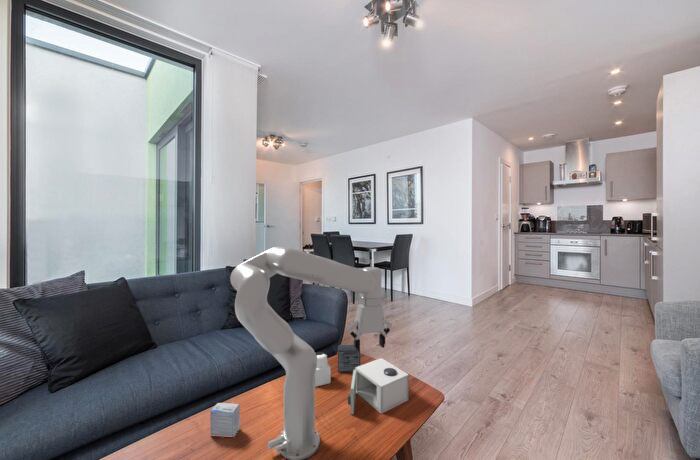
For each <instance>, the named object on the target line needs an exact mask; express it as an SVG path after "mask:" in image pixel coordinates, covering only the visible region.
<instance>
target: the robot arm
mask: <svg viewBox="0 0 700 460" xmlns="http://www.w3.org/2000/svg"><path fill="white" fill-rule="evenodd" d="M230 273H231V274H230V277H229V279H230V284H231V286H232V288H233V289H234V290H236V295H235V300H234V312H235V316H236V319H237V320H238V322H240V324H241V325H242V326H243V327H244V328H245V329H246V330H247V331H248V332H249V333H250V334H251V335H252V337H254V339H255V341H256V342H257V343H258V345H260V347H262V348H263V349H264V350H266V351H267V352H268V353H270V355H272V357H273V358H274V359H275V360H276V361H278V363H279V364H280V365H281V367H282V368H283V369H284V370H285V379H284V383H283V395H282V396H283V429H282V430H280V435H278V436H277V438H274V439H272V440H269V441H268V442H267V447H268V450H271V449H274V452H275V453H278V452H279V453H280V455H281V456H282V457H283V458H284V459H287V460H305V459H307V458H310V457H311V456H312V455H314V454H315V453H316V452H317V450H319V446H320V444H321V441H320V440H321V437H320V434H319V432H318V431H317V429H316V426H315V425H316V415H315V414H316V411H315V410H316V406H315V405H316V399H315V398H316V396H315V395H316V392H315V391H316V390H315V389H316V387H315V374H316V368H317V356H316V353H317V352H315V350H314V348H313V347H312V346H311V345H309V344H308V343H307V342H306V341H305V340H303V339H302V338H300V337H299V336H298V335H296V333H294V331H293V329H292V327H291V326H290V324H289V323H288V322H287V321H286V320H285V319H283V318H282V317H281V316H280V315H279V314H278V313H277V312H276V311H275V310H274V309H273V308H272V306H271V305H270V304H269V302H268V294H269V290H270V286H271V285H270V284H271V278H272V277H273V276H276V275H277V274H278V275H281V276H283V277H287V278H291V279H297V280H301V281H306V282H309V283H310V282H311V283H314V284H319V285H322V286H328V287H332V288H333V287H334V288H338V289H341V290H346V291H349V292H354V293H359V294H360V303H359V304H358V305H357V309H356V314H355V321H354V322H352V323H351V324H350V325H348V326H347V328H346V329H347V331H348V332H349V334H350V335H351V336H352V338H353V339H354V341H353V345H354V347H355V348H356V349H357V351H359V350H360V351H361V340H360V338H361V337H362V336H363V335H369V334H379V337H378V339H379V340H378V343H379V344H378V345H379V346H380V347H381V348H383V349H384V348H385V345H386V338H387V335H388V334H389V332H390V331H391V329H392V327H393V323H391V322H390V321H388V320H386V319H385V312H384V307H383V304H382V302H385V297H384V296H383V297H382V275H383V272H382V270H381V268H379V267H376V266H366V267H354V266H351V265H348V264H344V263H342V262H338V261H336V260H333V259H329V258H327V257H324V256H319V255H316V254H313V253H308V252H306V251H302V250H299V249H295V248H293V247H286V246H280V245H278V246H274V247H271V248H268V249H267V250H265V251H263V252H261V253H258V254H257V255H255V256H253V257H251V258H249V259H247V260H245V261H243V262H242V263H240V264H238V265H237V266H236V267H235V268H234V269H232V272H230ZM385 325H386V327H385ZM354 329H355V330H356V331H355V332H354Z"/></svg>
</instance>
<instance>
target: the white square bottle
mask: <svg viewBox="0 0 700 460" xmlns="http://www.w3.org/2000/svg"><path fill="white" fill-rule="evenodd" d="M315 353H316V356H317V368H316V374H315V388H317V387H319V386H324V385H327V384H330V383H332V381H331V379H332V378H331V377H332V376H331V371H332V369H331V365H329V363H328V354H327V353H326V352H324V351H317V352H315Z"/></svg>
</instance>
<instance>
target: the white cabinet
mask: <svg viewBox="0 0 700 460" xmlns="http://www.w3.org/2000/svg"><path fill="white" fill-rule="evenodd" d="M355 370H356V395H358V396H360V397H361V398H362V399H363V400H364V401H366V402H367V403H368V404H369V405H370V406H371V407H372V408H374V409H375V410H376V411H378V413H380V414H384V413H386V412H387V411H389V410H391V409H394V408H396V407H398V406H399V405H401V404H403V403H406V402H407V401H409V396H410V395H409V388H410V387H409V385H410V384H409V381H410V379H409V378H410V377H409V373H407V372H406V371H404V370H402V369H400V368H398V367H397V366H396V365H393V364H392V363H390V362H388V361H387V360H385V359H384V358H382V357H380V358H377V359H375V360H372V361H370V362H367V363H364V364H360V366H358V367H355Z"/></svg>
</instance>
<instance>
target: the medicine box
mask: <svg viewBox="0 0 700 460" xmlns="http://www.w3.org/2000/svg"><path fill="white" fill-rule="evenodd" d="M240 410H241V409H240V404H238V403H227V402H217V403H216V404H215V405H214V406H213V407H212V408H211V410H210V412H209V413H210V414H209V415H210V416H209V417H210V418H209V419H210V436H211V435H221V436H232V437H234V436H235V434H236V433H238V432H239V431H240V429H241V422H240V421H241V420H240V419H241V416H240ZM239 428H240V429H239ZM238 430H239V431H238ZM237 431H238V432H237ZM236 435H237V434H236ZM235 437H236V436H235ZM235 437H234V438H235Z"/></svg>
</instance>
